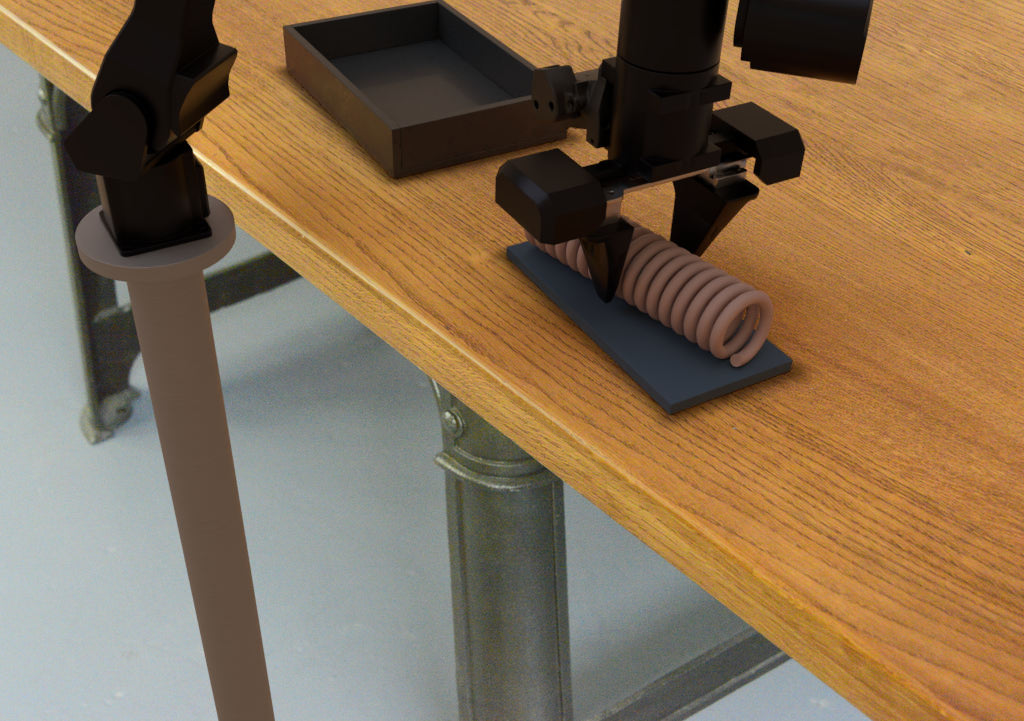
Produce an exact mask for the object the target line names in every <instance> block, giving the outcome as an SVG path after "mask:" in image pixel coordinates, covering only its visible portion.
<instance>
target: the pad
mask: <svg viewBox="0 0 1024 721" xmlns="http://www.w3.org/2000/svg"><path fill="white" fill-rule="evenodd" d="M505 254H506V255H505V256H506V258H508V259H509V260H510V262H511V263H512V264H514V265H515V267H517V269H519V270H520V272H522V273H523V274H524V275H525V277H527V278H528V279H529V280H530V281H531V282H532V283H533V284H534V285H535V286H536V287H537V288H539V290H541V292H542V293H544V294H545V296H546V297H548V298H549V299H550V300H551V301H552V303H554V304H555V305H556V306H557V307H558V308H559V309H560V310H561V311H562V312H563V313H564V314H565V315H566V316H567V317H568V318H569V319H570V320H571V321H572V322H573V323H574V324H575V325H576V326H578V328H580V330H582V332H584V334H585V335H587V336H588V337H589V338H590V339H591V340H592V341H593V342H594V343H595V344H596V345H597V346H598V347H599V348H600V349H601V350H602V351H603V352H604V353H605V354H606V355H607V356H609V357H610V359H612V360H613V362H615V364H617V365H618V366H619V367H620V368H621V369H622V370H623V371H624V372H625V374H626V375H628V376H629V377H630V378H631V379H632V380H633V381H634V382H635V383H636V384H637V385H638V386H639V387H640V388H641V389H642V390H644V392H645V393H647V394H648V395H649V396H650V397H651V398H652V399H653V400H654V402H656V403H657V404H658V405H659V406H660V407H661V408H662V409H663V410H664V411H665V412H666V413H667V414H668V415H670V416H672V415H674V414H676V413H679V412H682V411H685V410H687V409H690V408H693V407H695V406H698V405H701V404H703V403H707V402H709V401H712V400H714V399H717V398H720V397H722V396H725V395H728V394H730V393H733V392H735V391H739V390H741V389H744V388H746V387H749V386H752V385H755V384H758V383H760V382H763V381H766V380H768V379H771V378H774V377H777V376H779V375H781V374H784V373H787V372H790V371H791V370H792V366H793V362H794V360H793V359H792V358H791V357H790V356H788V355H787V354H786V352H784V351H783V350H781V349H780V348H779V347H778V346H776V345H775V344H774V343H772V341H770V340H769V339H767V338H766V340H765V342H764V343H763V345H762V347H761V348H760V350H759V351H758V352H757V354H756V355H755V356H754V357H753V358H752V359H751V360H750V361H749V362H747V363H746V364H744V365H742V366H738V367H735V366H733V365H732V364H731V362H730V358H731V357H728V358H725V359H719V358H716V357H715V356H714V355H713V354H712V353H711V351H706V350H703V349H702V348H701V347H700V346H699V345H698V343H693V342H690V341H689V340H688V339H687V338H686V337H685V336H684V335H679V334H677V333H676V332H675V331H674V330H673V328H669V327H666V326H664V325H663V324H662V323H661V321H659V320H655V319H653V318H651V317H650V315H649V314H648V313H643V312H641V311H640V310H639V309H638V308H637V307H636V306H632V305H630V304H628V303H627V302H626V301H625V299H621V298H618V297H617V296H616V295H614V297H613V299H612V301H611V302H610V303H604V302H603V301H602V300H601V299H600V298H599V297H598V295H597V293H596V290H595V287H594V284H593V281H592V280H591V279H590V278H586V277H584V276H583V275H582V274H581V273H580V272H577V271H574V270H573V269H572V268H571V267H570V266H569V265H565V264H563V263H561V262H560V261H559V259H556V258H553V257H552V256H550V255H549V254H548V253H547V252H543V251H542V250H540V249H539V248H538V246H534V245H532V244H530V243H529V242H528V240H526V241H523V242H519V243H516V244H512V245H508V246H506V253H505ZM633 260H634V258H633ZM633 260H632V261H633ZM629 266H630V265H629ZM644 267H645V266H644ZM627 269H628V268H627ZM643 269H644V268H643ZM643 269H642V271H643ZM626 271H627V270H626ZM626 271H625V273H626ZM642 271H641V272H640V274H641V273H642ZM640 274H639V276H640ZM639 276H638V277H639ZM654 277H655V276H654ZM653 279H654V278H653ZM653 279H652V280H653ZM651 282H652V281H651ZM743 320H744V318H742V320H741V322H740V324H739V326H738V328H737V330H736V331H735V333H734V334H733V335H732V337H731V338H730V339H729V340H728V341H727V342H726V343H725V344H724V345H726V344H727V343H728V342H729V341H731V340H732V339H733V337H734V336H735V335H736V333H737V332H738V330H739V329H740V327H741V325H742V323H743ZM755 331H756V328H754V330H753V332H752V334H751V335H750V337H749V339H748V340H747V342H746V343H745V344H744V346H743V347H742V348H741V349H740V350H739V351H738V352H740V351H741V350H742V349H743V348H744V347H745V346H746V345H747V344H748V343H749V341H750V340H751V338H752V337H753V335H754V333H755ZM724 345H723V346H724ZM738 352H737V353H738ZM737 353H736V354H737Z"/></svg>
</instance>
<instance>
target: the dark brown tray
mask: <svg viewBox="0 0 1024 721" xmlns="http://www.w3.org/2000/svg"><path fill="white" fill-rule="evenodd" d="M282 34H283V45H284V55H285V66H286V71H287V72H288V73H289V74H290V75H291V76H292V77H293V78H294V79H295V81H297V83H298V84H300V86H301V87H303V89H304V90H305V91H306V92H307V93H309V95H310V96H311V97H312V98H314V100H315V101H316V102H317V103H318V104H319V105H320V106H321V107H322V108H323V109H324V110H325V111H326V112H327V113H328V114H329V115H330V116H331V117H332V118H333V120H335V121H336V122H337V123H338V124H339V125H340V126H341V127H342V128H343V129H344V130H345V131H346V132H347V133H348V134H349V135H350V136H351V137H352V138H353V139H354V140H355V142H356V143H358V144H359V145H360V146H361V148H363V149H364V150H365V151H366V152H367V153H368V154H369V155H370V157H371V158H373V160H374V161H375V162H377V163H378V165H379V166H380V167H382V168H383V170H384V171H385V172H386V173H387V174H388V175H389V176H390V177H391V178H392V179H393V180H396V179H400V178H404V177H408V176H412V175H417V174H422V173H425V172H430V171H434V170H438V169H442V168H446V167H447V168H448V167H450V166H454V165H459V164H463V163H467V162H471V161H476V160H480V159H484V158H485V159H486V158H488V157H492V156H497V155H502V154H505V153H510V152H514V151H518V150H522V149H525V148H531V147H535V146H538V145H543V144H547V143H552V142H556V141H559V140H560V141H561V140H564V139H567V138H568V130H561V129H560V128H559V122H556V123H552V122H543V121H539V120H538V119H537V118H536V116H535V115H534V112H533V105H532V97H531V91H532V82H533V73H534V69H537V68H538V67H537V66H536V65H535V64H533V63H532V62H530V61H529V60H527V59H526V58H524V57H523V56H522V55H520V54H519V53H518V52H516V51H515V50H513V49H512V48H511V47H509V46H508V45H507V44H506V43H504V42H502V41H501V40H500V39H498V38H497V37H495V36H494V35H493V34H491V33H490V32H488V31H487V30H485V29H484V28H483V27H481V26H480V25H478V24H477V23H476V22H474V21H473V20H472V19H470V18H469V17H468V16H466V15H464V14H463V13H462V12H461V11H459V10H458V9H456V8H454V7H453V6H452V5H451V4H450V3H448V2H447V1H445V0H426V1H420V2H415V3H408V4H403V5H397V6H390V7H384V8H378V9H373V10H367V11H362V12H355V13H349V14H343V15H337V16H333V17H327V18H322V19H321V18H320V19H316V20H315V19H314V20H309V21H304V22H303V21H302V22H296V23H292V24H291V23H290V24H286V25H285V24H284V25H282Z"/></svg>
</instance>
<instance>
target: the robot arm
mask: <svg viewBox="0 0 1024 721" xmlns="http://www.w3.org/2000/svg"><path fill="white" fill-rule="evenodd" d="M729 2H730V0H620V9H619V22H618V32H617V43H616V55H615V56H612V57H607V58H602V60H601V63H600V64H599V66H598V67H597V68H593V69H592V68H591V69H587V70H583V71H578V72H574V69H573V66H572V65H570V64H564V65H561V64H552V65H548V66H542V67H537V69H534V73H533V82H532V91H531V97H532V105H533V112H534V115H535V116H536V118H537V119H538V120H539V121H543V122H552V123H556V122H559V128H560V129H561V130H567V131H568V130H569V129H576V130H577V129H578V130H586V132H585V133H586V134H585V141H586V142H587V143H588V144H590V146H592V148H593V147H594V148H595V149H596V150H598V149H602V148H603V149H604V150H606V151H607V153H606V154H607V155H606V156H607V159H603V160H602V159H601V160H599V162H597V163H596V162H595V163H592V164H588V165H584V166H582V165H581V164H579V163H578V162H577V161H576V160H575V159H573V158H572V157H570V156H569V155H568V154H567V153H565V151H563V150H562V149H561V148H559V147H555V148H551V149H548V150H543V151H539V152H534V153H530V154H526V155H522V156H517V157H514V158H509V159H506V161H505V162H503V164H501V165H500V166H499V167H498V170H497V173H496V175H495V188H494V190H495V191H494V203H495V204H497V205H498V206H499V208H501V209H502V210H503V211H504V212H505V213H507V214H508V215H509V216H510V217H511V218H512V219H513V220H514V221H515V222H516V223H517V224H518V225H520V226H521V227H522V228H523V230H524V229H525V230H526V231H527V232H528V233H529V234H531V235H532V236H533V237H534V238H535V239H536V240H537V241H538V242H539V243H543V244H549V245H557V244H560V243H564V242H568V241H571V240H575V239H579V241H580V244H581V247H582V250H583V253H584V256H585V259H586V262H587V265H588V268H589V272H590V275H591V278H592V281H593V284H594V287H595V290H596V293H597V295H598V297H599V298H600V299H601V300H602V301H603V302H604V303H610V302H611V301H612V299H613V297H614V295H615V293H616V290H617V288H618V285H619V281H620V278H621V274H622V271H623V267H624V264H625V260H626V257H627V253H628V250H629V247H630V243H631V240H632V236H633V233H634V227H633V226H632V225H631V224H630V223H628V222H627V221H626V220H625V219H623V218H622V217H621V216H620V215H621V211H622V202H623V200H624V195H626V194H630V193H635V192H639V191H641V190H642V191H643V190H646V189H648V188H652V187H656V186H661V185H665V184H667V183H668V184H669V183H672V186H673V190H674V202H673V211H672V218H671V225H670V226H671V227H670V235H669V241H671V242H673V243H675V244H676V245H678V246H679V247H681V248H684V249H686V250H688V251H689V252H690V253H691V254H694V255H697V256H698V257H700V258H702V256H703V255H704V254H705V253H706V251H707V249H709V247H710V246H711V244H712V243H713V242H714V241H715V239H717V237H718V236H719V235H720V234H721V232H723V230H724V229H725V228H726V227H727V226H728V224H730V223H731V221H733V219H734V218H735V217H737V215H738V214H739V212H741V210H742V209H743V208H744V207H745V206H746V205H747V204H748V203H749V202H750V201H753V200H754V201H755V200H756V199H757V198H758V197H759V195H760V190H761V189H760V188H759V187H758V186H757V185H756V184H754V182H751V181H750V180H748V179H747V173H748V169H747V168H746V167H747V162H748V159H751V158H753V159H754V165H753V170H752V173H753V174H754V176H755V177H756V178H757V179H758V180H759V181H760V183H762V184H764V185H765V186H767V187H768V186H771V185H776V184H778V183H782V182H785V181H789V180H792V179H796V178H800V177H801V173H802V167H803V162H804V158H805V154H806V144H805V142H804V140H803V136H802V133H801V132H800V130H799V129H798V128H796V127H795V126H793V125H792V124H790V123H788V122H786V121H785V120H784V119H782V118H780V117H778V116H777V115H776V114H773V113H772V112H770V111H769V110H767V109H765V108H764V107H762V106H760V105H759V104H757V103H755V102H753V101H747V102H744V103H739V104H735V105H731V106H727V107H723V108H718V109H715V110H714V104H715V103H718V102H723V101H726V100H730V99H731V93H732V88H733V87H732V86H733V81H732V80H730V79H728V78H727V77H725V76H723V75H722V74H720V73H719V70H720V65H721V64H720V63H721V57H722V56H721V55H722V49H723V41H724V35H725V30H726V23H727V22H726V21H727V17H728V16H727V14H728V8H729ZM874 2H875V1H874V0H738V5H737V10H736V14H735V15H736V17H735V23H734V30H733V37H732V47H734V48H740V49H741V50H740V62H741V61H742V62H746V63H749V69H750V70H752V71H753V70H754V71H761V72H767V73H774V74H780V75H781V74H782V75H788V76H792V77H793V76H794V77H801V78H806V79H813V80H821V81H827V82H833V83H840V84H846V85H851V86H853V85H854V86H857V81H858V77H859V74H860V69H861V65H862V60H863V56H864V51H865V47H866V43H867V39H868V38H867V37H868V34H869V28H870V23H871V17H872V12H873V6H874ZM215 5H216V0H134V1H133V6H132V9H131V11H130V13H129V15H128V17H126V18H127V19H125V22H124V23H123V25H122V26H121V28H120V30H119V31H118V33H117V34H116V36H115V37H114V39H113V40H112V42H111V44H110V46H109V47H108V48H107V50H106V52H105V54H104V56H103V58H102V61H101V63H100V66H99V69H98V72H97V73H96V74H97V75H96V77H95V80H94V83H93V85H92V87H91V90H90V91H91V92H90V96H89V98H90V100H89V101H90V109H91V111H90V112H89V113H88V114H87V115H86V116H85V117H84V118H83V119H82V120H81V122H80V123H79V124H78V125H76V126H75V128H74V129H73V130H72V132H70V134H69V135H68V136H67V137H66V138H65V139H64V140H63V143H62V145H63V147H64V149H65V151H66V153H67V155H68V157H69V158H70V161H71V162H72V164H73V166H74V168H75V169H76V171H77V172H79V173H85V174H90V175H95V179H96V183H97V189H98V193H99V197H100V202H101V204H102V208H103V210H101V211H100V212H99V216H100V220H101V221H102V223H103V225H104V227H105V229H106V230H107V232H108V234H109V236H110V238H111V240H112V241H113V243H114V245H115V247H116V249H117V250H118V252H119V254H120V256H122V257H131V256H135V255H139V254H143V253H147V252H151V251H156V250H160V249H164V248H168V247H172V246H176V245H180V244H184V243H188V242H193V241H197V240H201V239H205V238H208V237H211V236H212V229H211V227H210V225H209V224H208V223H207V221H206V220H205V218H207V217H209V215H210V207H209V201H208V189H207V181H206V175H205V167H204V165H203V164H202V163H201V161H200V160H199V159H198V158H197V156H196V154H195V153H194V150H193V149H194V148H193V147H192V146H191V144H190V143H189V142H188V141H187V140H188V139H189V138H190V137H191V136H193V135H194V134H195V133H198V132H199V131H201V130H202V129H203V126H204V122H205V119H206V118H205V117H206V116H207V115H209V114H210V113H211V112H213V111H214V110H215V109H216V108H217V107H218V106H220V105H221V104H222V103H224V102H225V101H226V100H227V99H229V98H230V96H231V93H230V86H229V81H230V74H231V71H232V68H233V66H234V64H235V62H236V60H237V57H238V52H239V50H238V49H237V48H236V47H234V46H231V45H228V44H225V43H222V42H220V40H219V37H218V34H217V31H216V28H215V25H214V22H213V21H214V20H213V18H214V9H215Z"/></svg>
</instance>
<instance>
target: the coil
mask: <svg viewBox="0 0 1024 721" xmlns="http://www.w3.org/2000/svg"><path fill="white" fill-rule="evenodd" d="M620 216H621V217H622V218H623V219H625V220H626V221H627V222H628V223H630V224H631V225H632V226H633V227H634V233H633V236H632V240H631V243H630V247H629V250H628V253H627V257H626V260H625V264H624V267H623V271H622V274H621V278H620V281H619V285H618V288H617V290H616V293H615V295H616V296H617V297H618V298H621V299H625V301H626V302H627V303H628V304H630V305H632V306H636V307H637V308H638V309H639V310H640V311H641V312H643V313H648V314H649V315H650V317H651V318H653V319H655V320H659V321H661V323H662V324H663V325H664V326H666V327H669V328H673V330H674V331H675V332H676V333H677V334H679V335H684V336H685V337H686V338H687V339H688V340H689V341H690V342H693V343H698V345H699V346H700V347H701V348H702V349H703V350H706V351H711V353H712V354H713V355H714V356H715V357H716V358H719V359H725V358H728V357H731V358H730V362H731V364H732V365H733V366H735V367H738V366H742V365H744V364H746V363H747V362H749V361H750V360H751V359H752V358H753V357H754V356H755V355H756V354H757V352H758V351H759V350H760V348H761V347H762V345H763V343H764V342H765V340H766V339H767V338H768V336H769V334H770V331H771V328H772V324H773V321H774V320H773V319H774V305H773V302H772V300H771V298H770V296H769V295H768V294H767V293H765V292H764V291H762V290H760V289H759V290H757V289H756V288H755V287H754V286H753V285H751V284H749V283H747V282H743V281H742V280H741V279H740V278H738V277H737V276H734V275H731V274H729V273H728V272H727V271H726V270H724V269H722V268H719V267H716V266H715V265H714V264H713V263H712V262H709V261H707V260H704V259H703V258H702V257H698V256H697V255H694V254H691V253H690V252H689V251H688V250H686V249H684V248H681V247H679V246H678V245H676V244H675V243H673V242H671V241H670V240H667V239H666V237H664V236H662V235H661V234H658V233H655V232H654V231H653V230H651V229H649V228H648V227H645V226H643V225H642V224H640V223H639V222H637V221H635V220H632V219H631V218H630V217H628V216H627V215H624V214H620ZM523 233H524V237H525V239H526V241H528V242H529V243H530V244H532V245H534V246H538V248H539V249H540V250H542V251H543V252H547V253H548V254H549V255H550V256H552V257H553V258H556V259H559V261H560V262H561V263H563V264H565V265H569V266H570V267H571V268H572V269H573V270H574V271H577V272H580V273H581V274H582V275H583V276H584V277H586V278H590V279H591V280H592V278H591V275H590V272H589V268H588V265H587V262H586V259H585V256H584V253H583V250H582V247H581V244H580V241H579V239H575V240H571V241H568V242H564V243H560V244H557V245H549V244H543V243H539V242H538V241H537V240H536V239H535V238H534V237H533V236H532V235H531V234H529V233H528V232H527V231H526V230H525V229H524V228H523ZM633 258H634V260H633ZM632 260H633V261H632ZM629 265H630V266H629ZM644 266H645V267H644ZM627 268H628V269H627ZM643 268H644V269H643ZM642 269H643V271H642ZM626 270H627V271H626ZM625 271H626V273H625ZM641 271H642V273H641V274H640V272H641ZM639 274H640V276H639ZM638 276H639V277H638ZM654 276H655V277H654ZM653 278H654V279H653ZM652 279H653V280H652ZM651 281H652V282H651ZM743 317H744V318H743ZM742 319H743V323H742V325H741V327H740V329H739V330H738V332H737V333H736V335H735V336H734V337H733V339H732V340H731V341H729V342H728V343H727V344H726V345H724V344H725V343H726V342H727V341H728V340H729V339H730V338H731V337H732V335H733V334H734V333H735V331H736V330H737V328H738V326H739V324H740V322H741V320H742ZM756 325H757V326H756ZM754 329H755V330H756V331H755V333H754V335H753V337H752V338H751V340H750V341H749V343H748V344H747V345H746V346H745V347H744V348H743V349H742V350H741V351H740V352H738V351H739V350H740V349H741V348H742V347H743V346H744V344H745V343H746V342H747V340H748V339H749V337H750V335H751V334H752V332H753V330H754ZM723 345H724V346H723ZM737 352H738V353H737ZM736 353H737V354H736Z"/></svg>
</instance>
